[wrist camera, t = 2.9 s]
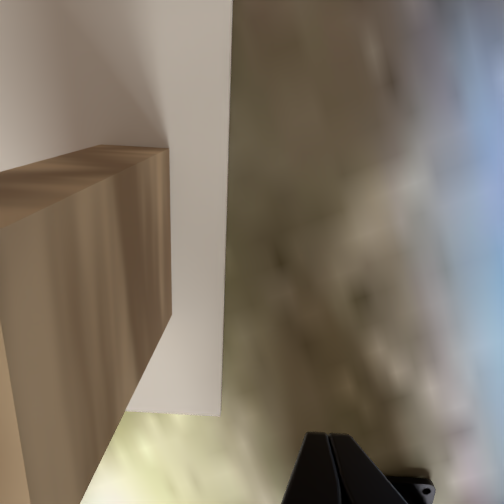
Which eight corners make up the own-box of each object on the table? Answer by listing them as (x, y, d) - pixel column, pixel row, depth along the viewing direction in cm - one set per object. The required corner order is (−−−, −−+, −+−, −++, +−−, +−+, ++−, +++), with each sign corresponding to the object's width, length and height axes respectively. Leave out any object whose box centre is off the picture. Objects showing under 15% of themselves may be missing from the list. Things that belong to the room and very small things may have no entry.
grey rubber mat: (232, -6, 17) (232, -9, 17) (221, 410, 24) (220, 416, 24) (-292, -31, 18) (-307, -34, 17) (-158, 388, 24) (-167, 393, 24)
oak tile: (169, 148, 19) (-14, 235, 7) (172, 314, 22) (43, 578, 10) (94, 144, 19) (-207, 223, 7) (106, 310, 22) (-99, 564, 10)
